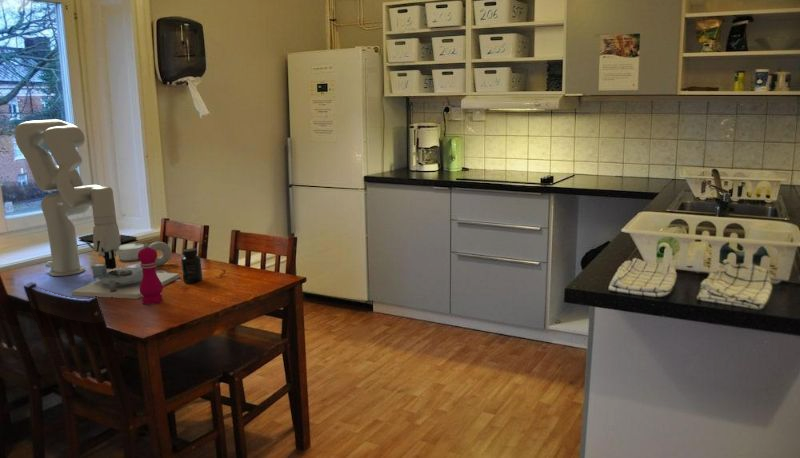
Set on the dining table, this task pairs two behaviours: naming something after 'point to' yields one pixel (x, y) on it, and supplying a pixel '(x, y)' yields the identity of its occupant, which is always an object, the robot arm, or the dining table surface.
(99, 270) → the flange plate
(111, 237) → the robot arm
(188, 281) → the supplement bottle
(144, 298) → the pepper mill
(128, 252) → the ramekin
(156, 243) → the donut
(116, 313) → the dining table surface
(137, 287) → the base board
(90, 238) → the sushi plate
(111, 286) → the steel dowel
